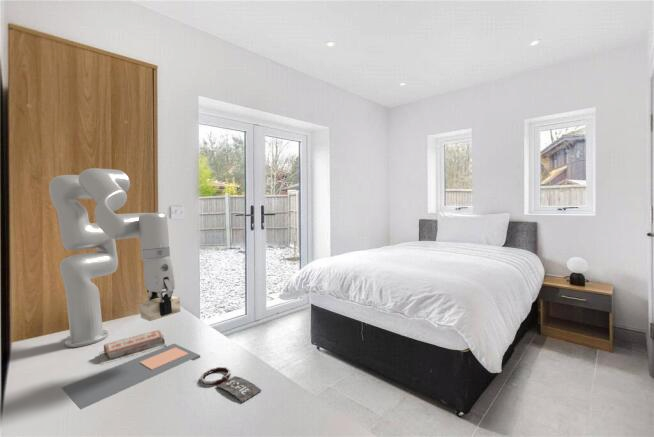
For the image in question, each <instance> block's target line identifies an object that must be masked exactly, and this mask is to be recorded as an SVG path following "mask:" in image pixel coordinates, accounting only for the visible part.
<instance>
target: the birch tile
mask: <svg viewBox="0 0 654 437" xmlns="http://www.w3.org/2000/svg"><path fill="white" fill-rule="evenodd" d="M163 297H164V295H163ZM171 298H172V300H171V306H172V313H170V314H167V315H164V316H161V315H160V306H159V303H160V302H161V301H160V298H156V299H152V300H149V299H148V300H145V301H142V302H139V313H140V318H141V319H144V320H145V321H147V322H148V321H149V322H151V321H152V322H153V321H155V320H159V319H162V318H164V317H167V316H171V315H174V314H177V313H180V312H181V303H180V296H176V295H173V294H172V297H171Z"/></svg>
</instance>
